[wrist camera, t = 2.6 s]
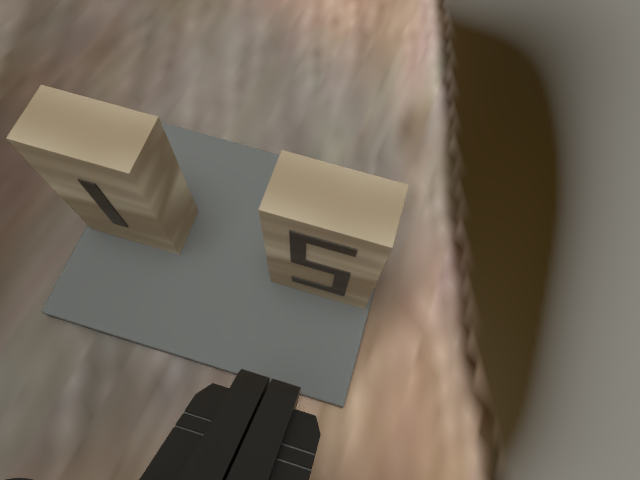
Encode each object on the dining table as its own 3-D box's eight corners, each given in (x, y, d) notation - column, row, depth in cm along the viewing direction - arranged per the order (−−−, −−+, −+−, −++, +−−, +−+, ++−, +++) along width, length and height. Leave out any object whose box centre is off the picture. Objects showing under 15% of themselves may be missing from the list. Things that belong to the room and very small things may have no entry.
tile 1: (178, 256, 23) (128, 174, 17) (90, 229, 24) (5, 140, 17) (199, 210, 24) (159, 115, 17) (114, 185, 25) (41, 83, 18)
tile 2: (364, 310, 23) (392, 249, 16) (270, 282, 23) (257, 211, 16) (377, 261, 24) (409, 183, 17) (287, 235, 24) (282, 148, 17)
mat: (47, 315, 23) (41, 311, 22) (147, 124, 27) (144, 117, 26) (342, 407, 22) (343, 406, 21) (398, 194, 26) (401, 188, 25)
